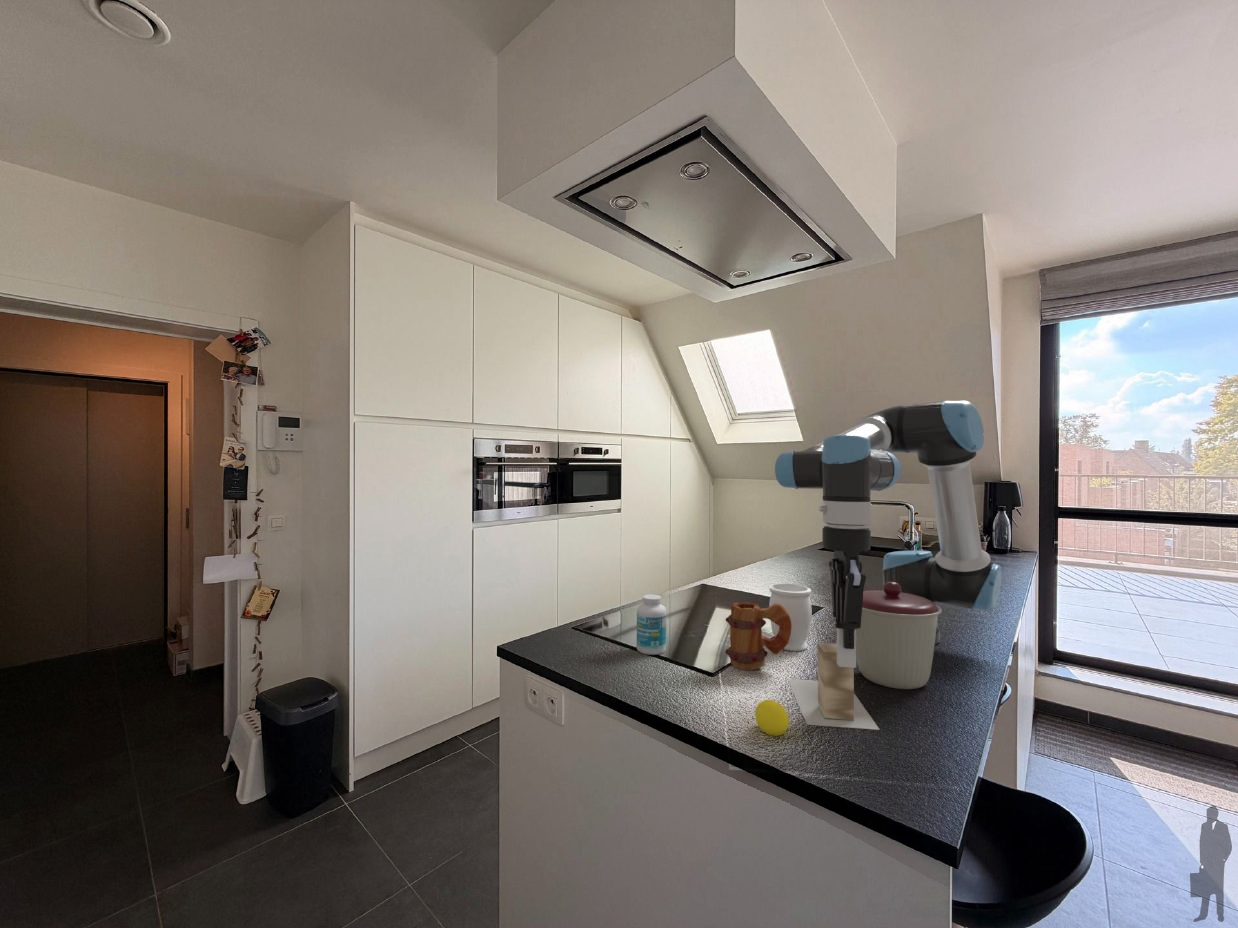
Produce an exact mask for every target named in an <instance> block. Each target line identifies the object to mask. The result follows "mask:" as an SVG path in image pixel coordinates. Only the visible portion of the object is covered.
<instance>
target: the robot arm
mask: <svg viewBox="0 0 1238 928" xmlns="http://www.w3.org/2000/svg"><path fill="white" fill-rule="evenodd" d="M980 415H981V414H980V412H979V411H978V409H977V408H976V406H975V405H974V404H973V403H972V402H970V401H968V400H945V401H933V402H924V403H915V404H904V405H903V404H901V405H896V406H892V407H887V408H885V409H883V410H879V411H876V412H874V413H872V414H869V415H867V416H865V417H862V418H861V419H859V420H857V421H856V422H855V423H854V424H853V425H852V427H850V428H849V429H847V430H844V431H842V432H841V433H839V434H836V435H829V436H827V437H826V438H824V439H823V441H822V442H820V443H818V444H815V445H813V446H811V447H808V448H806V449H804V450H801V451H795V450H792V451H785V452H782V453H780V454H779V455H778V456H777V458H776V460H775V464H774V475H775V479H776V481H777V482H778V484H779V485H780V486H781V487H783V488H789V489H796V490H799V489H801V490H802V489H807V490H808V489H811V490H813V489H815V490H818V489H819V490H821V489H822V505H820V506H819V507H818V508H819V510H818V511H819V512H822V522H823V523H824V526H823V527H822V531H821V532H822V535H821V536H822V543H821V544H822V546H823V548H824V549H826V550H830V551H834V552H833V558H830V559H831V560H829V562H828V566H829V572H830V583H831V584H830V585H831V587H830V588H831V599H832V617H833V618H835V624H834V625H835V628H836V644H837V664H838V666H839V667H853V668H854V669H855V668H856V669H857V658H856V629H857V628H858V629H860V628H861V616H862V604H863V591H865V584H866V580H867V575H866V574H865V573H863V571H862V570H863V569H862V568H863V564H862V562H861V561H860V555H859V554H860V553H861V552H868V551H870V550H871V546H872V545H871V544H872V543H871V542H872V541H871V540H872V539H871V536H872V535H871V533H872V532H871V529H870V528H868V526H870V525H871V524H872V501H871V491H877V492H881V491H883V490H887V489H889V488H891V487H893V486H894V485H895V484H896V483H898V481H899V479H900V476H901V475H902V474H901V473H902V467H901V463H900V461H899V459H898V458H897V457H896V456H895V455H894V454H893V453H895V454H896V453H898V454H902V453H905V454H909V453H910V454H911V453H913V454H915V453H916V454H917V459H918V463H920V465H922V466H924V467H926V469H927V473H928V474H927V475H928V482H929V487H930V493H931V500H932V504H933V512H934V518H935V523H936V524H935V525H936V529H937V536H938V542H939V543H938V544H939V549H940V551H938V552H937V553H936V554H935V556H934V557H933V553H932V551H929V550H898V551H892V552H888V553H885V555H884V556H883V565H882V566H883V567H882V568H881V570H882V586H883V585H884V584H885V583H886V582H896V583H898V584H899V585H900V586H901V592H903V593H908V594H913V595H917V596H921V597H924V598H926V599H928V600H930V601H932V602H933V603H934V604H941V605H946V606H947V605H948V606H953V607H959V608H964V609H971V610H972V611H974V610H976V611H983V612H984V611H985V612H988V611H991V610H993V609H994V608H995V607H996V605H997V603H998V600H999V596H1000V591H1001V587H1002V580H1003V579H1002V578H1003V571H1002V567H1001V565H1000V564H996V563H992V560H991V559H992V558H991V555H990V553H988V552H986V551H985V550H983V548H982V542H981V535H980V534H981V533H980V529H979V521H978V514H977V506H976V499H975V493H974V485H973V484H974V483H973V478H972V477H973V476H972V470H971V469H972V468H971V463H972V461H974V459H976V457H977V452H978V451H980V450H982V449H983V445H984V443H985V436H984V432H985V431H984V425H983V421H982V417H981V416H980ZM825 524H826V525H825ZM882 590H883V589H882ZM883 591H884V590H883ZM940 642H941V632H940V629H939V625H938V624H937V628H936V636H935V645H936V644H939V643H940Z"/></svg>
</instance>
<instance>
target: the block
mask: <svg viewBox="0 0 1238 928" xmlns="http://www.w3.org/2000/svg"><path fill="white" fill-rule="evenodd" d="M854 669H855V668H853V667H839V666H838V664H837V643H832V642H830V643H829V642H828V643H827V642H817V681H818V707H819V709H820V711H821V713H822V715H823V717H824V719H831V720H845V721H854V694H855V686H854V685H855V682H854V681H855V677H854V676H855V671H854Z"/></svg>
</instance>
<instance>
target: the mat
mask: <svg viewBox="0 0 1238 928" xmlns="http://www.w3.org/2000/svg"><path fill="white" fill-rule="evenodd" d="M787 682H788V684H789V686H790V688H791V690H792V693H793V695H794V697H795V700H796V702H797V704H798V707H799V709H800V711H801V714H802V716H803V718H804V721H805V723H806V725H809V726H810V725H811V726H822V727H823V726H824V727H834V728H835V727H837V728H848V729H849V728H850V729H861V730H862V729H864V730H865V729H866V730H874V731H875V730H876V731H880V730H881V729H880V728H879V727H878V725H877V723H876V721H874V720H873V718H872V716H871V715H870V714H869V712H868V711H867V709H866V707H864V705H863V703H862V702H861V701H860V699H859V698H858V697H857V695H856V694H855V693H854V721H845V720H831V719H824V717H823V715H822V713H821V711H820V709H819V707H818V680H812V679H811V680H810V679H796V678H795V679H794V678H793V679H792V678H787Z"/></svg>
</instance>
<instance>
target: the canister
mask: <svg viewBox="0 0 1238 928" xmlns="http://www.w3.org/2000/svg"><path fill="white" fill-rule="evenodd" d="M883 590H884V591H883ZM942 610H943V609H942V607H940V606H939V604H937V603H934V602H932V601H930V600H928V599H926V598H924V597H921V596H917V595H913V594H908V593H903V592H901V586H900V585H899V584H898V583H896V582H886V583H885V584H884V585H883V584H882V590H873V589H872V590H864V591H863V604H862V616H861V628H860V629H858V628H857V629H856V664H857V668H858V669H859V671H860V673H861V674H862V676H863V677H864V678H865V679H867V680H868V681H871V682H872V683H874V684H876V685H880V686H883V687H887V688H890V689H891V688H893V689H898V690H914V689H916V690H917V689H920V688H923V687H924V686H925V685H926V684H927V683H928V681H929V679H930V676H931V672H932V667H933V658H934V652H935V645H936V644H935V636H936V628H937V625H938V616H939V615H941V613H942Z"/></svg>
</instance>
